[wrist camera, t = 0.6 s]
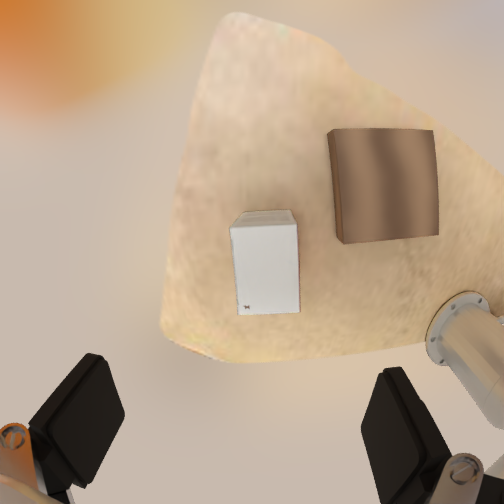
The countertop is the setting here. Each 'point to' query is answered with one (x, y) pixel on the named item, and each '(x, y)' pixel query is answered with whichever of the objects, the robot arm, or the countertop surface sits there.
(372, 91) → the countertop surface
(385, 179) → the walnut block
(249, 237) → the small box
